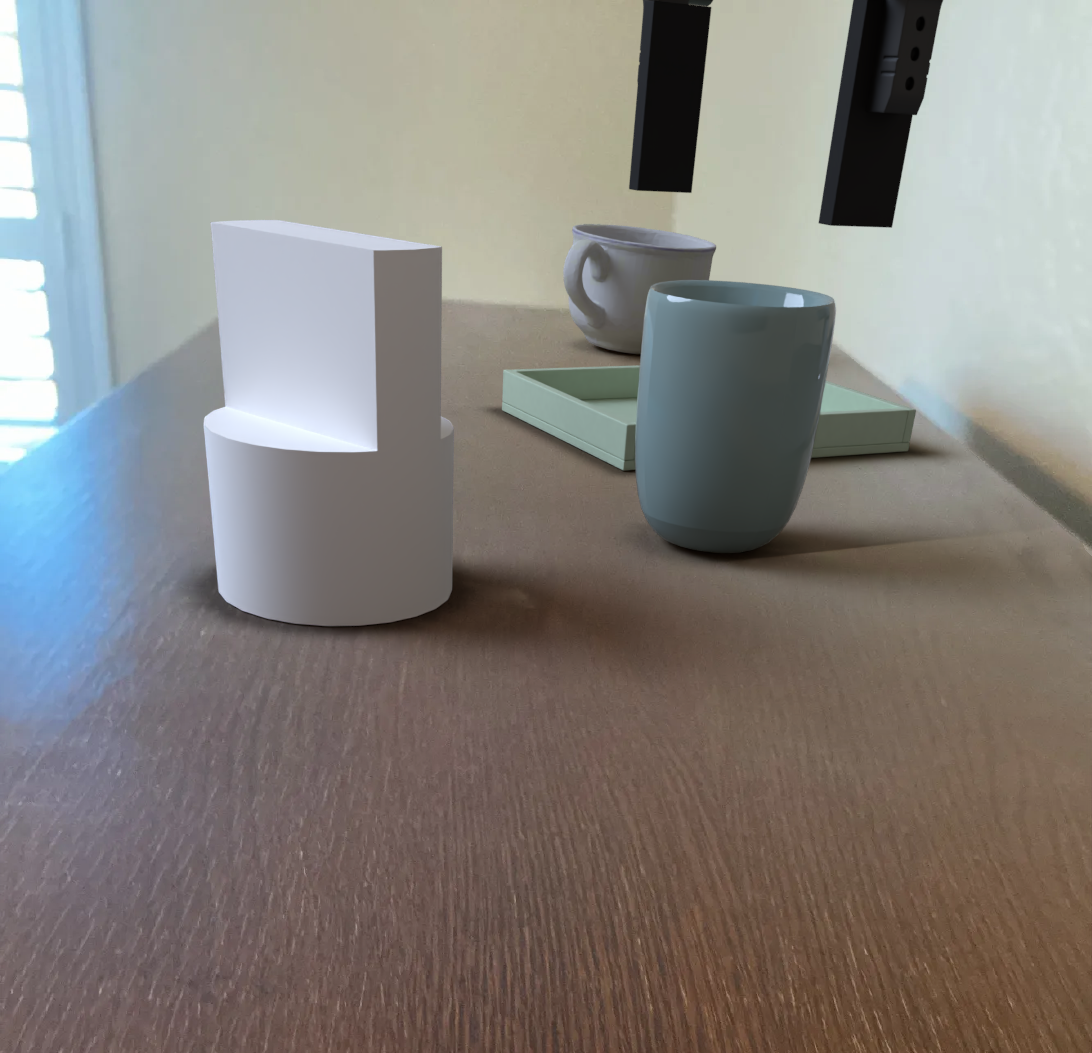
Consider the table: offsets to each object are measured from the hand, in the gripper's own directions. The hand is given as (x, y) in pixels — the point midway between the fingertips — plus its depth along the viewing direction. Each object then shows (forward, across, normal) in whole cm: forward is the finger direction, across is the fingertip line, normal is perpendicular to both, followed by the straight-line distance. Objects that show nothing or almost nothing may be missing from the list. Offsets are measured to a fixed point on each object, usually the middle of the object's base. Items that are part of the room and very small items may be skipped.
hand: (748, 208), depth 51 cm
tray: (+13, -20, +12) cm, 27 cm away
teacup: (+13, -46, +21) cm, 52 cm away
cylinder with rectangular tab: (+13, +1, -18) cm, 22 cm away
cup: (+13, 0, 0) cm, 13 cm away
